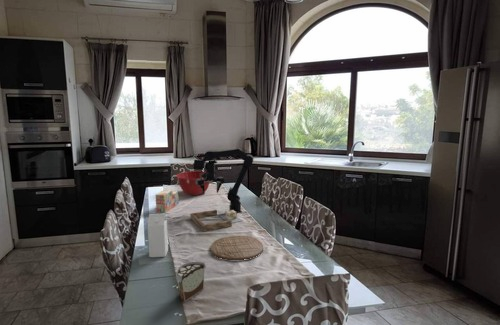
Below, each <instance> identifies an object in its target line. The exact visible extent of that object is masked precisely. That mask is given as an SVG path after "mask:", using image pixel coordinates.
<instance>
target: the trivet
mask: <svg viewBox="0 0 500 325" xmlns="http://www.w3.org/2000/svg"><path fill="white" fill-rule="evenodd" d="M211 252H212V253H211ZM263 252H264V244H263V242H262V241H261V240H259V239H258V238H255V237H252V236H248V235H247V236H246V235H229V236H224V237H223V236H222V237H221V238H218V239H216V240H214V241H213V242H212V243H211V245H210V253H211V254H212V256H213V257H215V256H216V257H215V258H217V257H218V258H217V259H219V258H222V259H227V260H244V259H250V258H253V257H255V258H257V257H259V256H260V255H261V254H263ZM259 254H260V255H259ZM258 255H259V256H258ZM256 256H257V257H256ZM222 259H221V260H222ZM253 259H254V258H253ZM227 260H226V261H227ZM250 260H251V259H250Z"/></svg>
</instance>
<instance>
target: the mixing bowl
mask: <svg viewBox="0 0 500 325" xmlns="http://www.w3.org/2000/svg"><path fill="white" fill-rule="evenodd" d="M200 173H204V174H205V171H204V170H194V171H192V170H191V171H184V172H180V173H178V174H176V175H175V176H176V179H177V183H178V184H179V186H180V188H181V190H182V192H183V193H185V194H186V195H188V194H189V196H197V195H198V194H200V195H203V194H202V193H203V192H202V189H201V187H200V186H199V185H197V184H195V180H196V179H202V180H206V179H203V178H201V177H200ZM210 184H211V182H207V183H204V184H203V185H204V188H205V192H206V191H207V190H208V189H209V186H210ZM198 196H199V195H198Z"/></svg>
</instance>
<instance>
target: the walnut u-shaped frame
mask: <svg viewBox="0 0 500 325" xmlns="http://www.w3.org/2000/svg"><path fill="white" fill-rule="evenodd" d="M189 216H190V220H191V221H192V222H193V223H195V225H196V226H197V227H198V228H200V230H201V229H202V230H203V232H206V231H205V230H207V231H211V229H213V230H217V228H218V229H222V228H223V229H225V228H228V227H232V224H233V223H232V221H231V220H229V221H225V220H224V221H218V222H213V223H207V224H205V223H204V222H202V220H200V217H201V218H206V216H207V217H213V216H218V210H217V209H212V210H206V211H199V212H191V213H190V215H189ZM202 230H201V231H202Z"/></svg>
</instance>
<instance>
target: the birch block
mask: <svg viewBox="0 0 500 325" xmlns="http://www.w3.org/2000/svg"><path fill="white" fill-rule="evenodd" d="M229 210H230V209H229ZM229 210H226V211H225V215H226V218H227V219H228V220H231V219H237V217H238V216H237V213H236V212H235V211H234V210H230V211H229ZM236 216H237V217H236Z"/></svg>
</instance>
